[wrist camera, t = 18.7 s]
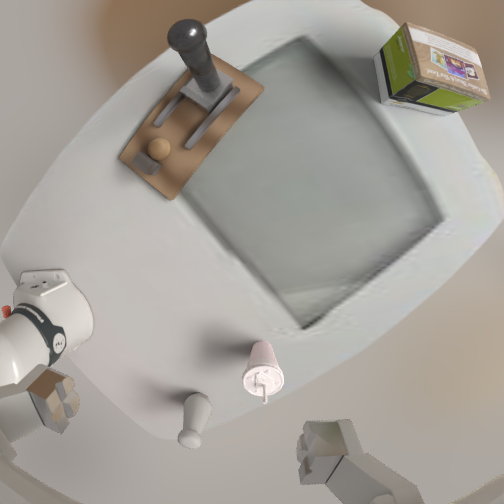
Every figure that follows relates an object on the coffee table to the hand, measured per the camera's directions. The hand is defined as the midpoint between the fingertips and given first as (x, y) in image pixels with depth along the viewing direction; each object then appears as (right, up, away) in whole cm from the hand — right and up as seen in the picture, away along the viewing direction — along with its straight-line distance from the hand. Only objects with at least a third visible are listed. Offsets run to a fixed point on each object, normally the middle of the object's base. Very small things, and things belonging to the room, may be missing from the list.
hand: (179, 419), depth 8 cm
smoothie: (+4, -12, +41) cm, 43 cm away
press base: (-8, +26, +32) cm, 42 cm away
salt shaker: (-9, -25, +44) cm, 51 cm away
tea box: (+31, +36, +30) cm, 56 cm away
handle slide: (-4, +30, +30) cm, 42 cm away
